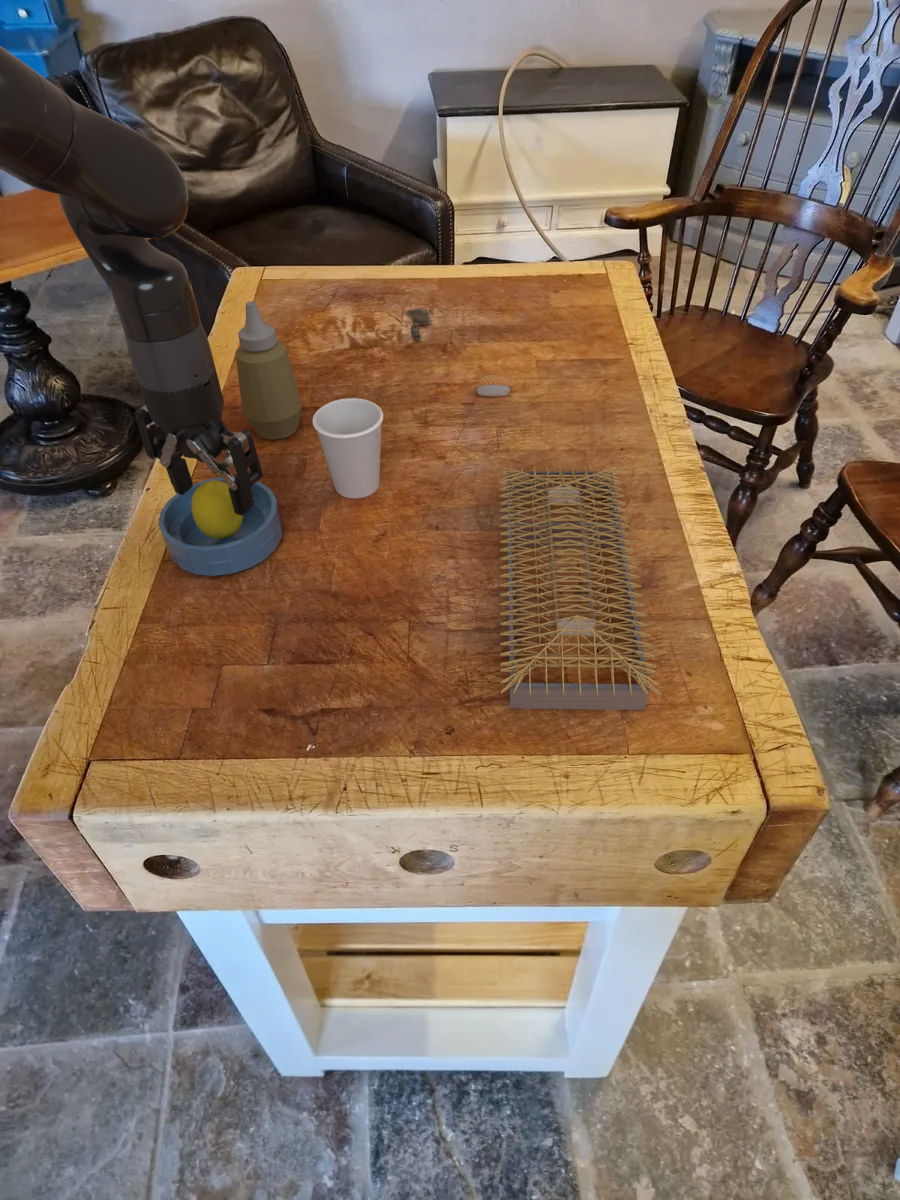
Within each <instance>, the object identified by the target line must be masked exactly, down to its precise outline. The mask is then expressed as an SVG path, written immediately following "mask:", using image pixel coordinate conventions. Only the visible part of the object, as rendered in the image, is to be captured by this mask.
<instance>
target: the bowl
mask: <svg viewBox="0 0 900 1200" xmlns="http://www.w3.org/2000/svg"><path fill="white" fill-rule="evenodd" d="M207 481H221V482H224V483H226V482H225V481H224V480H223V479H222V477H221V476H220V477H213V478H209V479H206V480H201V481H199V482H196V483H195V482H194V483H193V486H192V488H191V489H189V490H188V491H187V492H186V493H185V494H183V495H181V494H178V493H176V494H174V496H171V498H170V499H168V501H167V502H166V503H165V505H164V506H163V507H162V509H161V510H160V513H159V517H158V522H157V523H158V524H157V525H158V527H159V530H160V533H161V536H162V538H163V541H164V544H165V547H166V549H167V552H168V555H169V557H170V560H171V561H172V562H173V563H174V564H175V565H177V566H178V568H180V569H181V570H184V571H186V572H188V573H191V574H193V575H199V576H209V577H216V576H225V575H226V576H227V575H233V574H236V573H238V572H239V573H240V572H241V571H244V570H248V569H250V568H253V567H254V566H256V565H258V564H260V563H261V562H263V561H265V560H266V559H267V558H268V557H269V556H270V555H272V553H274V552H275V550H276V549H277V548H278V546H279V544H280V542H281V539H282V537H283V521H282V517H281V512H280V509H279V504H278V499H277V498H276V496H275V493H274V491H273V490H272V489H271V488H270V487H268V486H267V485H265V484H264V483H263V482H261V481H259V480H258V481H257V482H256V483H255V484H254V485H253V486H252V487H251V488H250V489H251V493H252V497H253V501H254V504H253V506H252V507H251V508H250V509H249V510H248V511H247V512H246V513H245V514H244V515H243V521H242V525H241V527H240V528H239V530H238V531H237V532H236V533H235V534H234V535H232V536H231V537H228V538H226V539H215V538H211V537H209V536H207V535H205V534H204V533H203V532H202V531H201V530H200V529H199V528H198V526H197V525H196V523H195V520H194V518H193V515H192V508H191V505H192V496H193V494H194V492H195V490H196V489H197V488H198V487H199V486H200V485H201V484H203V483H205V482H207Z"/></svg>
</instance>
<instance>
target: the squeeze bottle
mask: <svg viewBox="0 0 900 1200" xmlns="http://www.w3.org/2000/svg"><path fill="white" fill-rule="evenodd" d="M237 336H238V342H239V346H238V348H237V349H236V350H235V353H234V354H235V361H236V370H237V378H238V383H239V384H238V385H239V386H238V387H239V393H240V401H241V409H242V410H241V411H242V414H243V415H244V417H245V419H246V420H247V422H248V423H249V425H250V427H251V428H252V429H253V431H254V432H255V434H256V435H257V436H258V437H259V438H262V439H264V440H270V441H271V440H272V441H276V440H283V439H286V438H287V437H290V436H292V435H294V433H295V432H297V430H298V428H299V424H300V419H301V413H302V407H303V402H302V397H301V394H300V391H299V387H298V384H297V381H296V378H295V374H294V370H293V368H292V364H291V360H290V358H289V354H288V351H287V350H288V349H287V347H286V344H284V343H283V342H282V341H280V340H278V339H277V334H276V328H275V327H274V326H273V325H271V324H268V323H265V321H264V319H263V316H262V315H261V313H260V310H259V308H258V305H257V303H256V302H255V301H254V300H253V301H252V300H251V301H246V303H245V326H244V327H242V328H240V330H238V333H237Z"/></svg>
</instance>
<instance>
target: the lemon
mask: <svg viewBox="0 0 900 1200" xmlns="http://www.w3.org/2000/svg"><path fill="white" fill-rule="evenodd" d="M228 488H229V486H228V485H227V484H226V483H224V482H221V481H207V482H205V483H203V484H201V485H200V486H199V487H198V488H197V489H196V490H195V492H194V494H193V496H192V505H191V508H192V515H193V518H194V520H195V523H196V525H197V526H198V528H199V529H200V530H201V531H202V532H203V533H204V534H205V535H207V536H209V537H211V538H215V539H226V538H228V537H231V536H232V535H234V534H235V533H236V532H237V531H238V530H239V528H240V527H241V525H242V521H243V515H242V516H241V515H238V514H235V511H234V508H233V504H232V501H231V497H230V493H229V490H228Z"/></svg>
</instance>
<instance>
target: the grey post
mask: <svg viewBox="0 0 900 1200" xmlns="http://www.w3.org/2000/svg"><path fill="white" fill-rule="evenodd" d="M406 314H407V315H408V316H409V317H410V318H411V319H412V325H411V327H410V334H411V336H410V337H411V338H412V339H413V340H414V341H416V342H419V341H421V339H422V337H421V334H420V332H419V330H420V326H425V325H431V324H432V323H433V322H432V320H431V317H430V315H429V312H428V310H427V308H415V309H409V310H406Z"/></svg>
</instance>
